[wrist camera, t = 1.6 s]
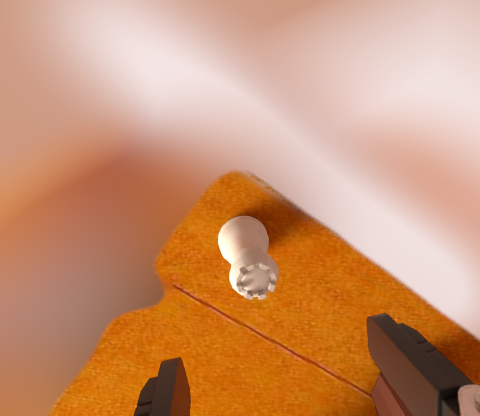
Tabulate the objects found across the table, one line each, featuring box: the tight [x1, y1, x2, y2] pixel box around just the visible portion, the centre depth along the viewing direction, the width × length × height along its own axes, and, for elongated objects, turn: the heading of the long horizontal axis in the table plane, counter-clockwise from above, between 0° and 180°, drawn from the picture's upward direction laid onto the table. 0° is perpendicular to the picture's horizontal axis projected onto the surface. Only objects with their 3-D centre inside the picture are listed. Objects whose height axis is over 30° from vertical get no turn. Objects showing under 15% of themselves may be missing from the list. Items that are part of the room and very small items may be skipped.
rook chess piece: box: [218, 216, 279, 300], centre depth 21 cm, size 4×4×8 cm
